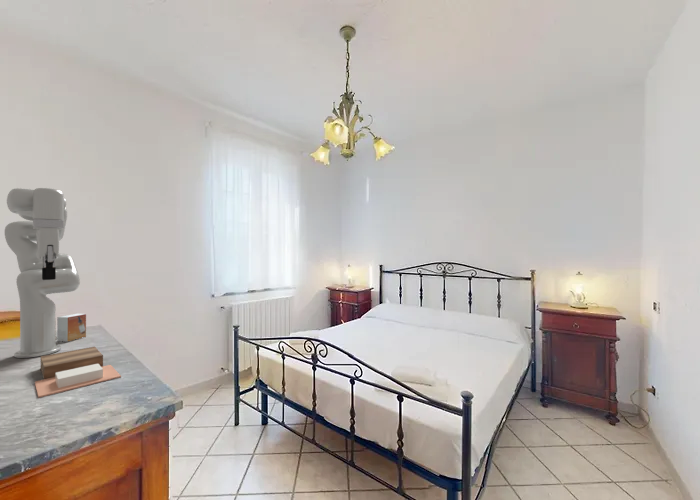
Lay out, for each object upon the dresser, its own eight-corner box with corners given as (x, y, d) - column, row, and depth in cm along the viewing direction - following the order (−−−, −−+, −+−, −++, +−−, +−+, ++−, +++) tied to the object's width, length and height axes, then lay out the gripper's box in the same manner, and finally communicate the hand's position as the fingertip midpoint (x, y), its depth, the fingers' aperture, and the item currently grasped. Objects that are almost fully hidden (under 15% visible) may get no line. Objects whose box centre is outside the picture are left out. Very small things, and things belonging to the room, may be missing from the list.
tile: (58, 379, 87) (58, 388, 87) (103, 369, 95) (103, 377, 95) (55, 372, 92) (55, 381, 92) (98, 363, 100) (98, 371, 100)
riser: (40, 368, 103) (40, 356, 103) (94, 357, 113) (94, 346, 113) (44, 380, 94) (44, 367, 94) (103, 367, 104) (103, 355, 104)
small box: (67, 342, 132) (67, 317, 132) (56, 341, 133) (56, 316, 133) (86, 337, 140) (86, 313, 140) (76, 336, 141) (76, 313, 141)
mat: (34, 382, 92) (34, 381, 92) (110, 365, 105) (110, 364, 105) (38, 397, 83) (38, 396, 83) (121, 377, 96) (121, 375, 96)
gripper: (31, 226, 108) (31, 279, 108) (34, 223, 98) (34, 282, 98) (60, 227, 114) (61, 277, 114) (66, 224, 104) (66, 280, 104)
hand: (48, 279), depth 106 cm, fingers closed
